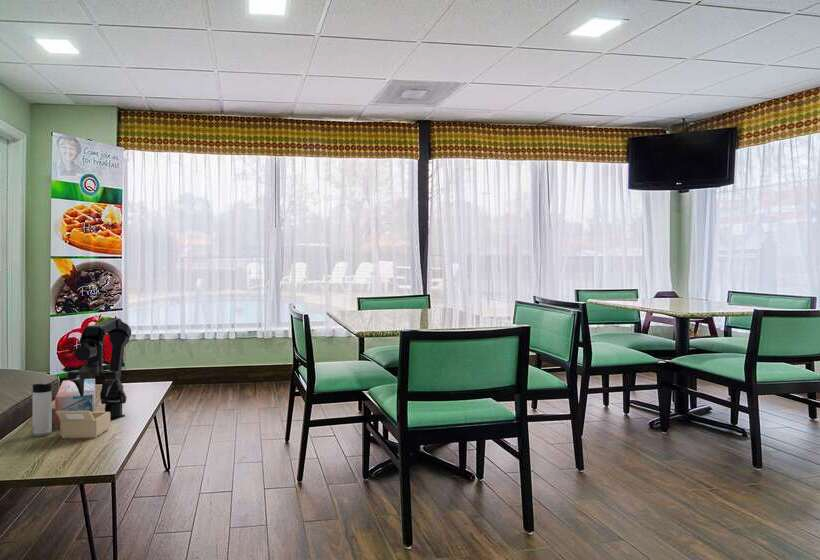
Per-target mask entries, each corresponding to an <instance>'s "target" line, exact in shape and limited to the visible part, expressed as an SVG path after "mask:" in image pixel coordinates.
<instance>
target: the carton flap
mask: <svg viewBox="0 0 820 560" xmlns="http://www.w3.org/2000/svg"><path fill="white" fill-rule="evenodd" d="M56 413H57V415H58V417H59V418H60V420H61V421H95V419H94V417H93V415H92V414H91V412H90V411H56Z"/></svg>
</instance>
